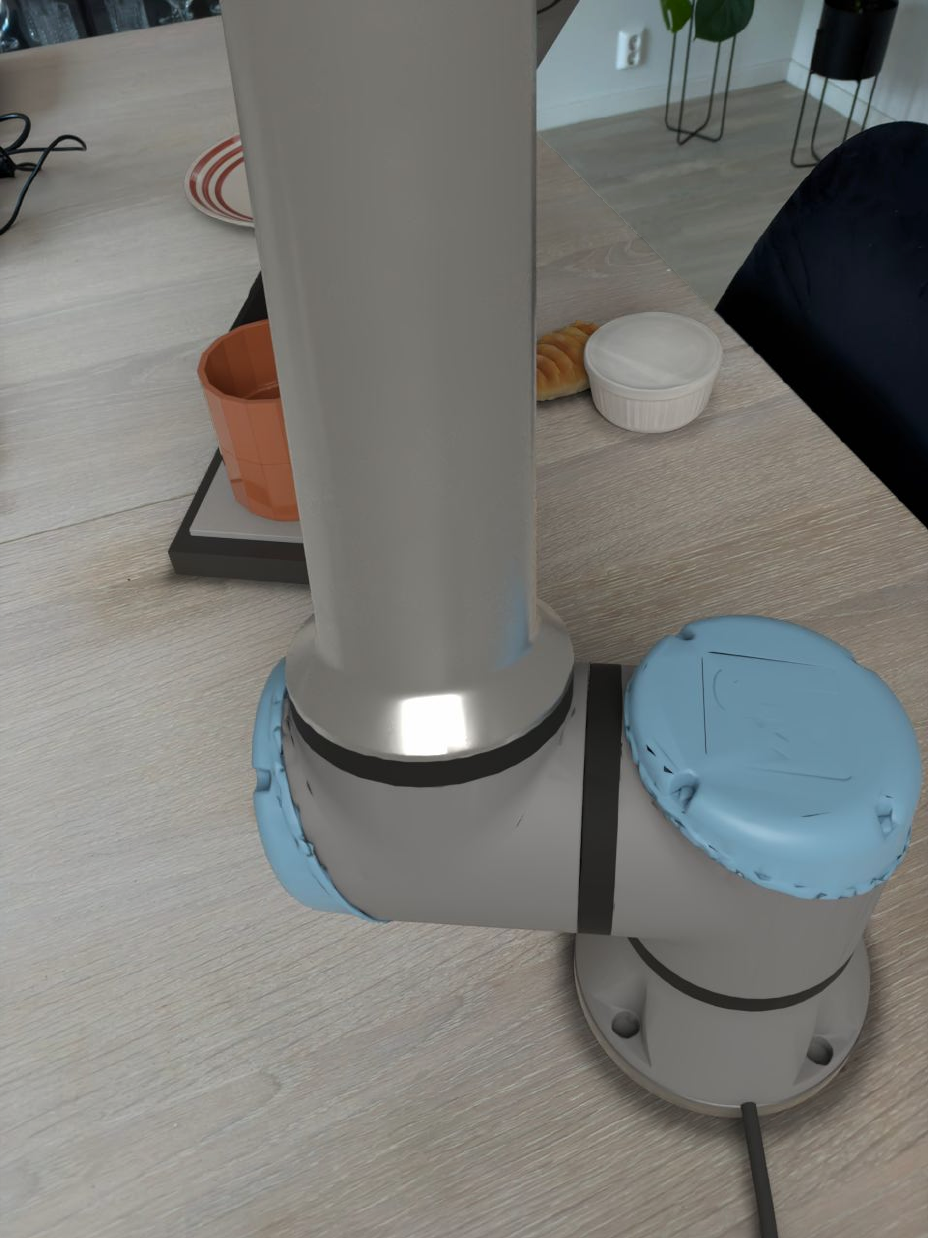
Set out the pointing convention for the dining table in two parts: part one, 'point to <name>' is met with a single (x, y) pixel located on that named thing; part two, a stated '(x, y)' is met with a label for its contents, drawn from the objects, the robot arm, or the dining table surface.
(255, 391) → the orange faceted hollow container
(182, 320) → the dining table surface
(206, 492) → the scale
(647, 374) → the ramekin
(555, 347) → the pastry
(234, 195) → the dinner plate
